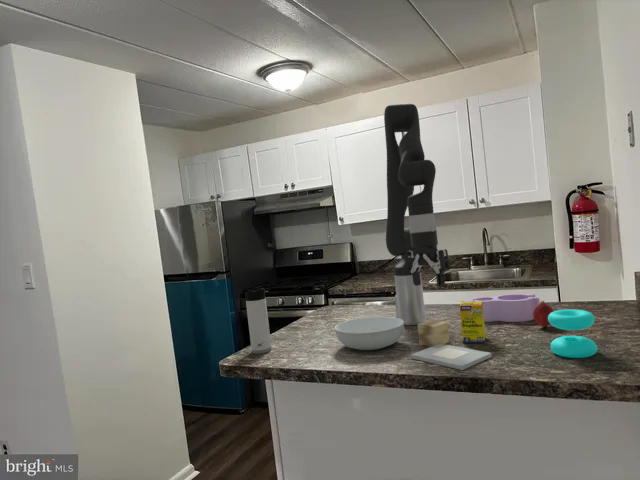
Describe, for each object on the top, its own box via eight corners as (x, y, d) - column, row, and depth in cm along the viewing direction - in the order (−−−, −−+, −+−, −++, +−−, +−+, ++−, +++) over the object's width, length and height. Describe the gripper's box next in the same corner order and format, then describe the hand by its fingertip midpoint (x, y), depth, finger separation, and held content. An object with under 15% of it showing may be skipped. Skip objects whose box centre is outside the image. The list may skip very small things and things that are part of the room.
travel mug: (264, 354, 139) (256, 290, 138) (247, 353, 142) (240, 290, 142) (276, 348, 144) (269, 286, 143) (260, 347, 148) (253, 287, 147)
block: (419, 344, 132) (417, 324, 132) (432, 339, 135) (430, 319, 135) (435, 347, 127) (433, 326, 127) (449, 342, 131) (447, 322, 130)
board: (411, 358, 120) (411, 354, 120) (440, 347, 127) (440, 343, 127) (462, 370, 107) (461, 365, 107) (491, 356, 114) (491, 352, 114)
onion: (558, 329, 132) (555, 301, 131) (537, 330, 133) (534, 303, 132) (552, 324, 137) (550, 298, 137) (532, 325, 138) (529, 299, 138)
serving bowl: (420, 340, 136) (417, 318, 135) (377, 361, 121) (374, 335, 121) (366, 334, 150) (363, 313, 150) (322, 351, 135) (319, 329, 135)
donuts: (597, 309, 110) (590, 318, 103) (601, 349, 111) (593, 361, 103) (552, 307, 117) (542, 316, 109) (556, 345, 117) (546, 357, 110)
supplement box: (462, 343, 128) (459, 305, 127) (464, 337, 133) (460, 301, 133) (485, 343, 126) (481, 304, 125) (486, 337, 131) (482, 300, 131)
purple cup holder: (476, 324, 148) (474, 303, 148) (473, 315, 160) (472, 296, 160) (543, 321, 143) (541, 299, 143) (535, 312, 155) (533, 292, 155)
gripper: (395, 232, 134) (401, 287, 134) (434, 229, 122) (440, 289, 123) (413, 230, 138) (418, 283, 139) (451, 227, 127) (457, 284, 127)
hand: (429, 285), depth 131 cm, fingers open, 8 cm apart
